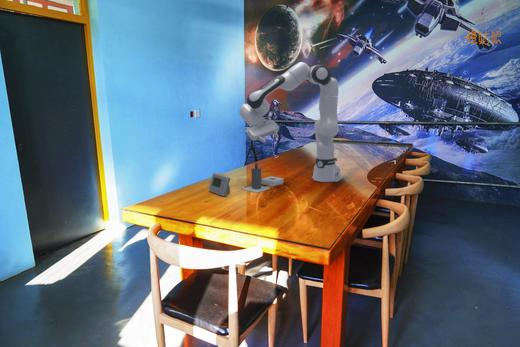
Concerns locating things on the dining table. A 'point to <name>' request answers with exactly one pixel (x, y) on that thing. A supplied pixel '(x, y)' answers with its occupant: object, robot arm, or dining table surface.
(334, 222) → the dining table surface
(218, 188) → the digital clock
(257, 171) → the plug
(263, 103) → the robot arm
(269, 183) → the socket block
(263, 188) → the mat
